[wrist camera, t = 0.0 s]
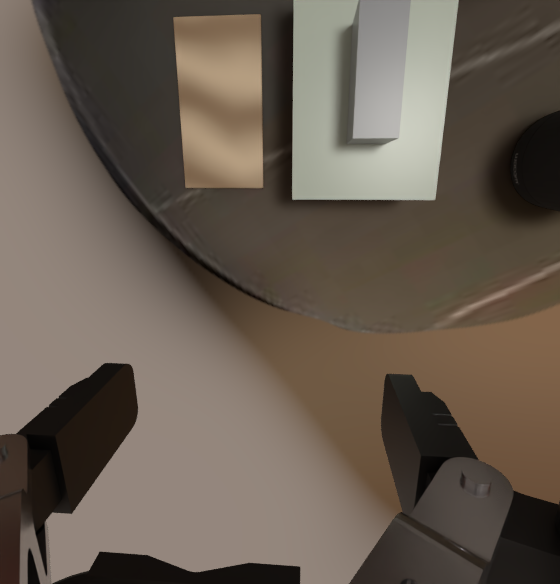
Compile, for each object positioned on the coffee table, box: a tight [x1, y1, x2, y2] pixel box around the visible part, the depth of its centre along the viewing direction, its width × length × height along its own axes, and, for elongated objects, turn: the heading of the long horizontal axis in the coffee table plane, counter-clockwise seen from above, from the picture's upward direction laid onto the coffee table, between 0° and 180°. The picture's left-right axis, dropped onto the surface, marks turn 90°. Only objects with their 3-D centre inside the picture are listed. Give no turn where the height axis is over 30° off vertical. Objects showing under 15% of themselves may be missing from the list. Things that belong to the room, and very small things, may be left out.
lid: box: [292, 0, 458, 200], centre depth 27 cm, size 16×11×7 cm
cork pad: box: [173, 14, 263, 188], centre depth 36 cm, size 15×8×1 cm, turn 0°
